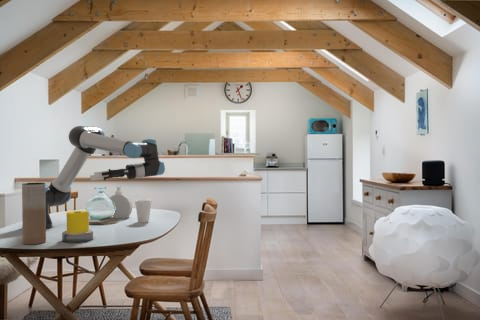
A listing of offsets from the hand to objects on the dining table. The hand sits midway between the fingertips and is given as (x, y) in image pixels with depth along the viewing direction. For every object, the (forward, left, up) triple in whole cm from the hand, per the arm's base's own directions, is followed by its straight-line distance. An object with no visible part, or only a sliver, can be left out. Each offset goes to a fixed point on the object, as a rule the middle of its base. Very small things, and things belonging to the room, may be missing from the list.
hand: (92, 176), depth 225 cm
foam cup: (-28, +39, -30) cm, 56 cm away
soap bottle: (-53, +33, -30) cm, 69 cm away
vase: (-1, -27, -30) cm, 40 cm away
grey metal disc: (+4, -8, -30) cm, 31 cm away
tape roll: (+4, -8, -26) cm, 28 cm away
